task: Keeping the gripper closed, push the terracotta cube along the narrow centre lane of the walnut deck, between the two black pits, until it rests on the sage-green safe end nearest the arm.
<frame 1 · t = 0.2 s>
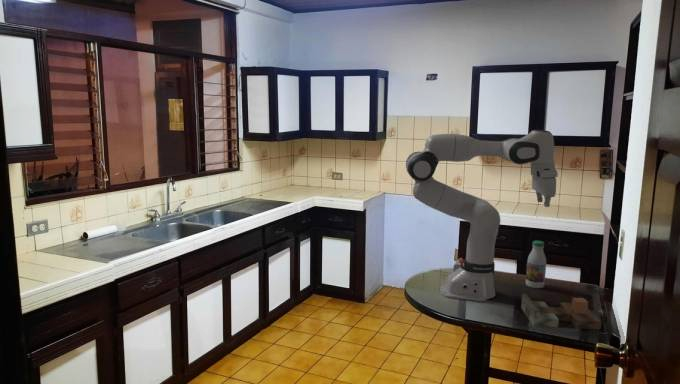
hand: (543, 204, 195), 39 cm above the table, tool pointing down, fingers open, 8 cm apart
trap deck: (558, 318, 180), on the table
milk bottle: (534, 286, 213), on the table
charger: (465, 270, 233), on the table
terracotta cube: (579, 311, 179), point 3 cm above the table, touching trap deck
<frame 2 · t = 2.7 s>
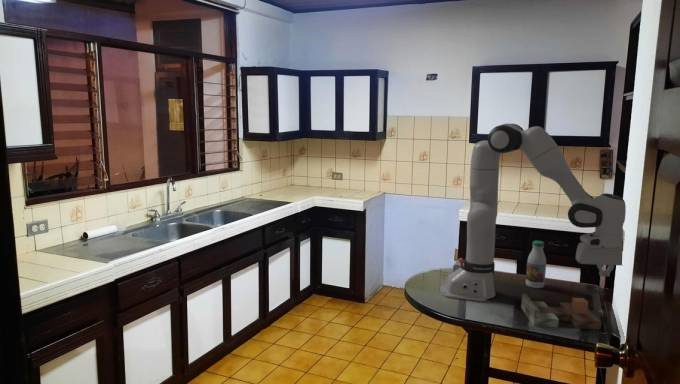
hand: (604, 275, 176), 17 cm above the table, tool pointing down, fingers closed
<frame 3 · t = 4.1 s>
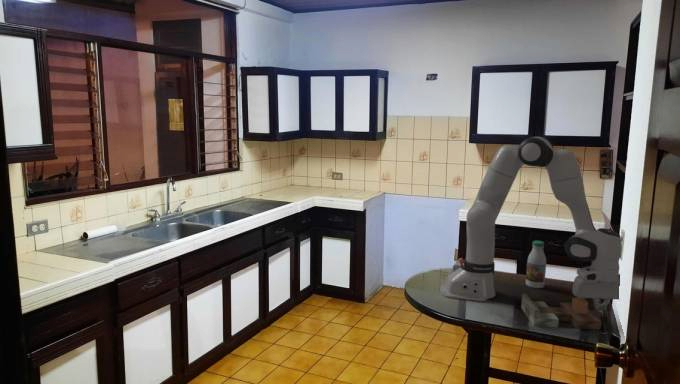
hand: (600, 309, 178), 4 cm above the table, tool pointing down, fingers closed
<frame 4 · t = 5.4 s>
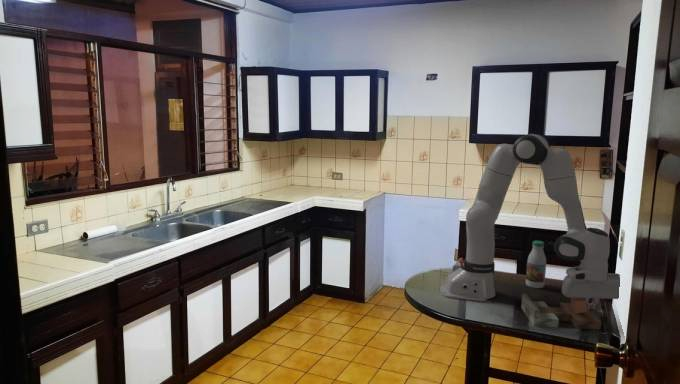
hand: (590, 308, 178), 4 cm above the table, tool pointing down, fingers closed
terracotta cube: (579, 310, 179), point 3 cm above the table, tilted 8°, touching gripper, trap deck
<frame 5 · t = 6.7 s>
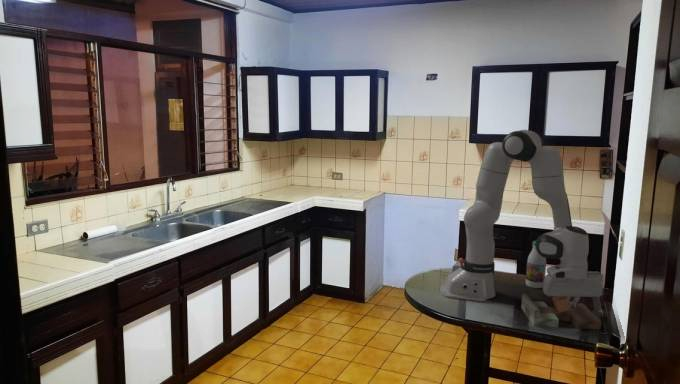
hand: (571, 307, 178), 5 cm above the table, tool pointing down, fingers closed
terracotta cube: (562, 309, 179), point 4 cm above the table, tilted 19°, touching gripper, trap deck
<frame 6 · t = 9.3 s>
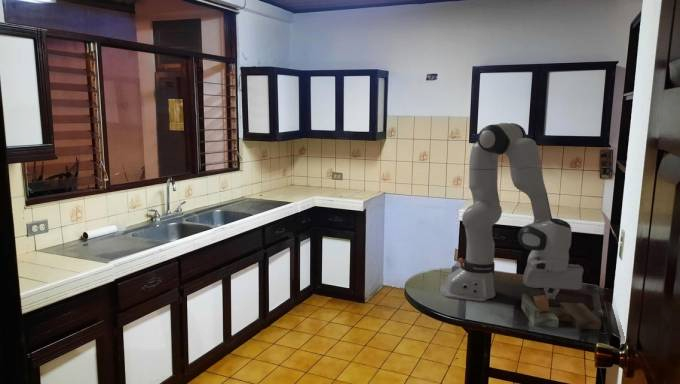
hand: (550, 298, 180), 7 cm above the table, tool pointing down, fingers closed
terracotta cube: (541, 309, 180), point 3 cm above the table, tilted 9°, touching trap deck
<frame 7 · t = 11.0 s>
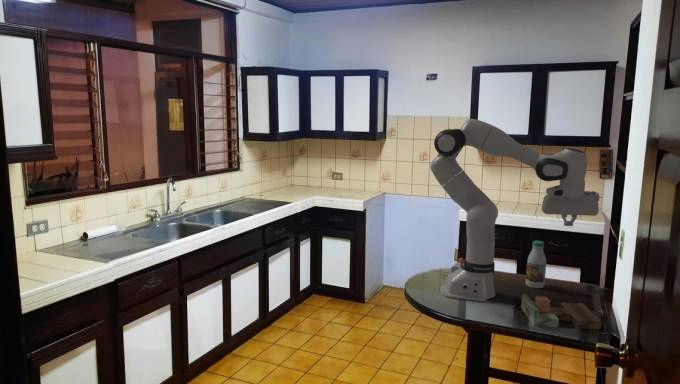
hand: (568, 225, 188), 32 cm above the table, tool pointing down, fingers closed
terracotta cube: (541, 309, 180), point 3 cm above the table, touching trap deck
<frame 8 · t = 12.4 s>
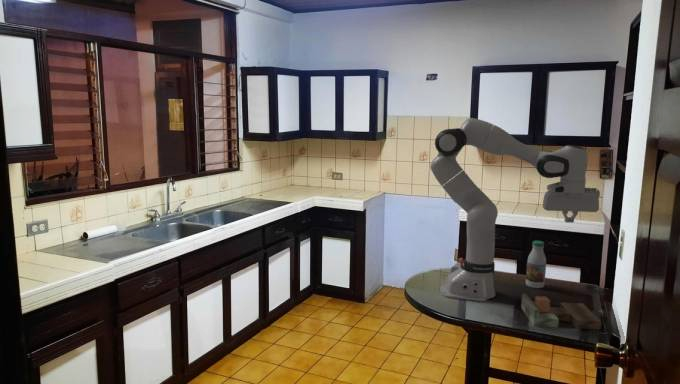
hand: (569, 222, 189), 33 cm above the table, tool pointing down, fingers closed
at the end: terracotta cube 0.3 cm from the target spot on the trap deck, point 3.0 cm above the trap deck's base; terracotta cube tilted 0° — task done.
